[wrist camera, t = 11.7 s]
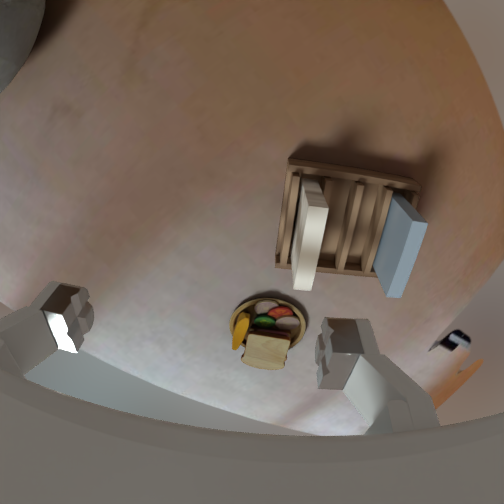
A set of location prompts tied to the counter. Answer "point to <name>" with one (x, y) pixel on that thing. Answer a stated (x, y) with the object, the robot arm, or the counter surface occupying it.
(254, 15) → the counter surface
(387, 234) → the grey upright panel
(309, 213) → the rack
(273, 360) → the toy sandwich meal
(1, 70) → the ceramic pot
